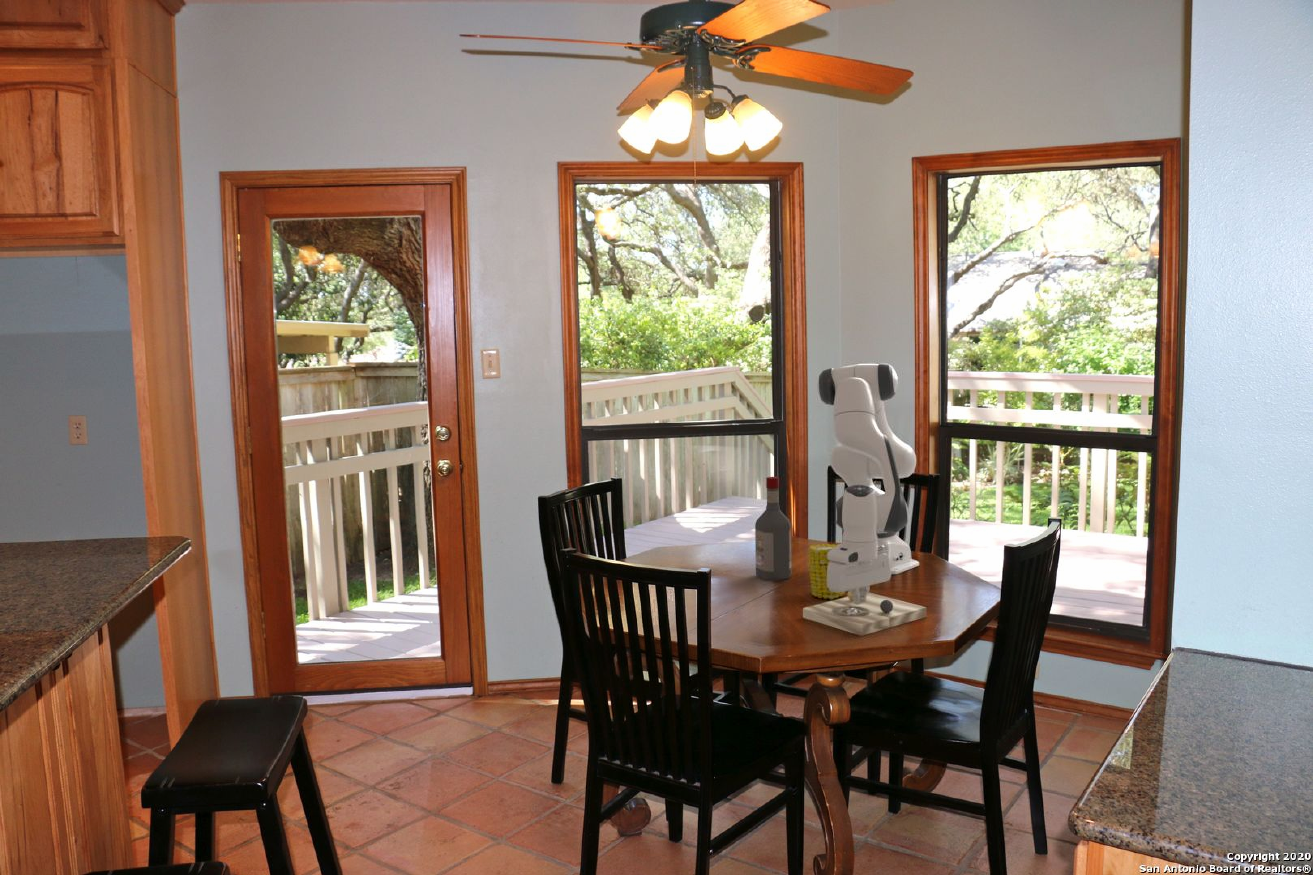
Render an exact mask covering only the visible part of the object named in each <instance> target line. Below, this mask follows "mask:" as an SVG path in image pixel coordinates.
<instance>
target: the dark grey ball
mask: <svg viewBox="0 0 1313 875" xmlns="http://www.w3.org/2000/svg"><path fill="white" fill-rule="evenodd" d="M880 608H881V610H882V611H883V612H885V613H889V612H891V611H892V609H893V604H892V602H891V601H889V600H884V601H882V602H881V604H880Z"/></svg>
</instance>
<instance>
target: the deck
mask: <svg viewBox="0 0 1313 875" xmlns="http://www.w3.org/2000/svg"><path fill="white" fill-rule="evenodd" d="M884 600H889V601H891V602H892V604H893V609H892V611H891V612H889V613H885V612H883V611H882V610H881V608H880V604H881V602H882V601H884ZM850 608H854V609H856V610H857V611H858V612H859V613H857V614H846V612H847V610H848V609H850ZM802 617H803V618H802V619H805V620H809V621H813V622H815V623H819V624H822V625H826V626H829V627H832V628H834V629H835V628H836V629H839V630H841V631H845V632H849V633H851V634H854V635H858V636H864V635H869V634H873V633H876V632H879V631H882V630H886V629H890V628H894V627H896V626H899V625H903V624H907V623H910V622H914V621H917V620H920V619H924V618H927V607H925V606H923V605H919V604H915V603H910V602H907V601H903V600H900V599H895V598H892V597H890V596H889V597H888V596H885V595H880V594H877V593H872V592H870V591H869V592H868V594H867V596H866V603H863V604H859V605H856V604H854V603H853V601H852V600H850V599H849V598H848V596H844V597H842V598H836V599H832V600H830V601H825V602H822V603H818V604H815V605H814V604H813V605H810V606H806V607H803V608H802Z"/></svg>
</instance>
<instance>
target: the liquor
mask: <svg viewBox="0 0 1313 875" xmlns="http://www.w3.org/2000/svg"><path fill="white" fill-rule="evenodd" d="M765 480H766V481H765V482H766V483H765V488H766V506H765V510H764V511H763V512H762V514H761V515H760V516H759V517H758V518H757V519H756V521H755V524H754V529H755V530H754V532H755V534H754V535H755V544H754V545H755V546H754V547H755V575H756V577H757V578H759V579H762V580H764V581H771V582H776V581H782V580H788V579H789V578H790V577H791V575H792V524H791V522H790V519H789V518H788V517H787V516H786V515H785V514H784V512H782V510H781V508H780V501H779V488H780V485H779V484H780V482H779V481H780V478H779V476H768V477H767V476H766V478H765Z"/></svg>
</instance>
